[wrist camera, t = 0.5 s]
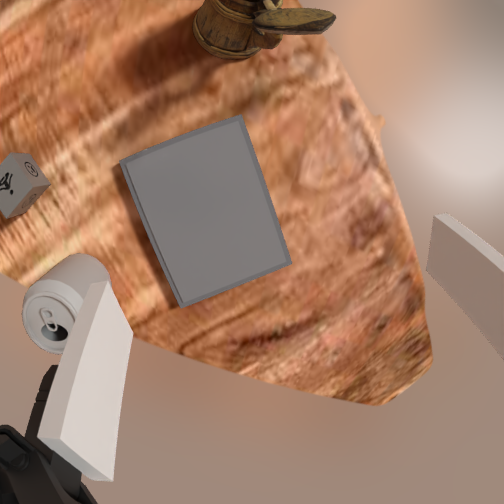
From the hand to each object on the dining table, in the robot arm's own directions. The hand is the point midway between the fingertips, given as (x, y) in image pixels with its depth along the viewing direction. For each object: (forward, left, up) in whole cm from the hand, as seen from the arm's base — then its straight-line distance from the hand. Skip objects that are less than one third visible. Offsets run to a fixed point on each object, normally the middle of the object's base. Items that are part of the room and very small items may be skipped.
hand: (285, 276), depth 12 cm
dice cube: (-12, -21, -26) cm, 35 cm away
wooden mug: (-18, +9, -26) cm, 32 cm away
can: (+2, -18, -26) cm, 32 cm away
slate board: (0, -1, -25) cm, 25 cm away
